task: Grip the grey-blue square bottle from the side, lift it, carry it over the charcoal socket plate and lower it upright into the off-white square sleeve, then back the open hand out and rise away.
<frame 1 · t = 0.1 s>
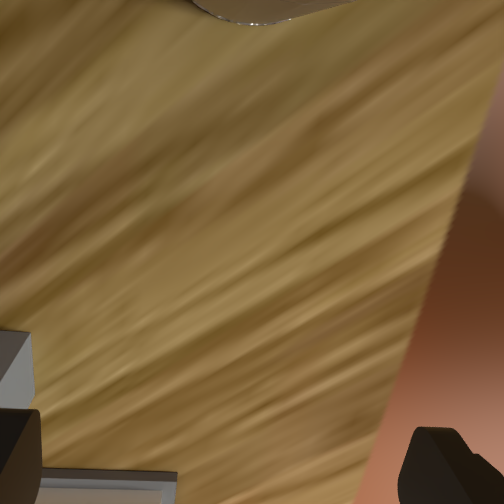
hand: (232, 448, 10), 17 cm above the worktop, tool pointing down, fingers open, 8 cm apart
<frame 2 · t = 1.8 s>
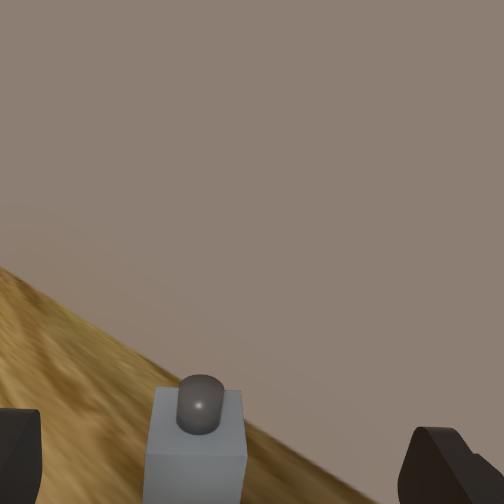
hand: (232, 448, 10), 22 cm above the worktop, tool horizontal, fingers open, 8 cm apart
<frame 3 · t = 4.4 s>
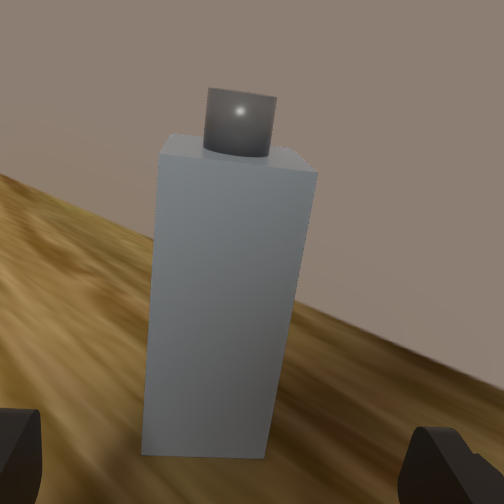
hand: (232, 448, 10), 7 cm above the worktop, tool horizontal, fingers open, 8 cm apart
grey-blue square bottle: (204, 413, 21), on the worktop
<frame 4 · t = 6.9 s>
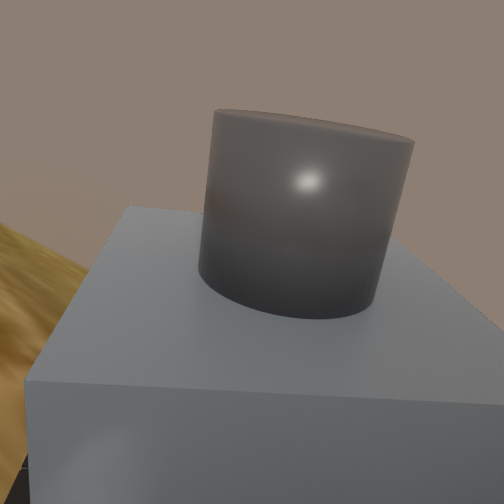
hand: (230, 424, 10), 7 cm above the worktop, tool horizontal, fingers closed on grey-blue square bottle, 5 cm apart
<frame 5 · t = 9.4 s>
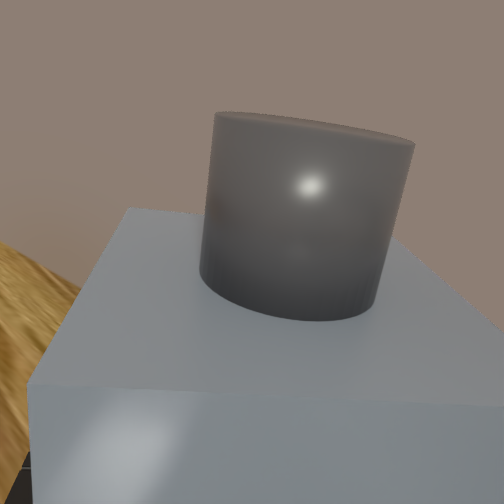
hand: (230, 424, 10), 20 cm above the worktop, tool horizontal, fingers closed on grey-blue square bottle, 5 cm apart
when the fingers open (9 cm above the worktop, at t = 11.9 s): grey-blue square bottle stays where it is, resting on socket block.
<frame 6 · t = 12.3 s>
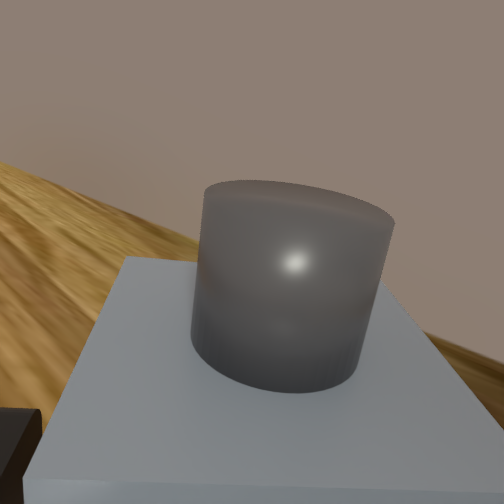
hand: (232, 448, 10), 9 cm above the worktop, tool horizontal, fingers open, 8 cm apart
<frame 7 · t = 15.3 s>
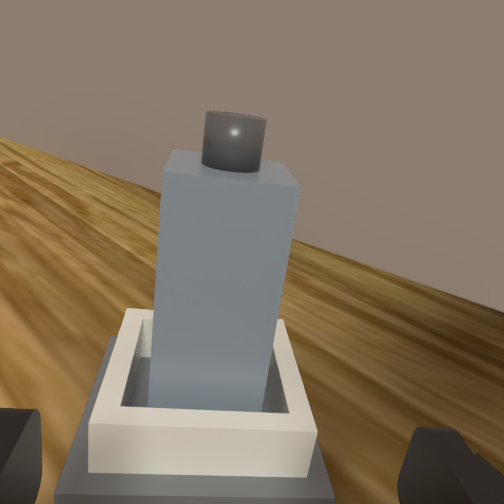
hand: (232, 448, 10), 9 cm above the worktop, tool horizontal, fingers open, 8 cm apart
grey-blue square bottle: (202, 401, 23), point 1 cm above the worktop, touching socket block
socket block: (200, 414, 23), on the worktop
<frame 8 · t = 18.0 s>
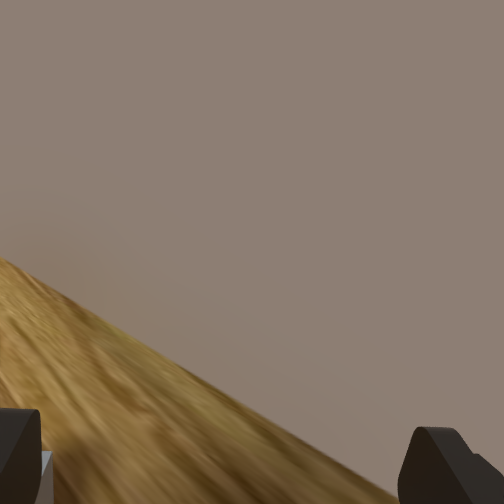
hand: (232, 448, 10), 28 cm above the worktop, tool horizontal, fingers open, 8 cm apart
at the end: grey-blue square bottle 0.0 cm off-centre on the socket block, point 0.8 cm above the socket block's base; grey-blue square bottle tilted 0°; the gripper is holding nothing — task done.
